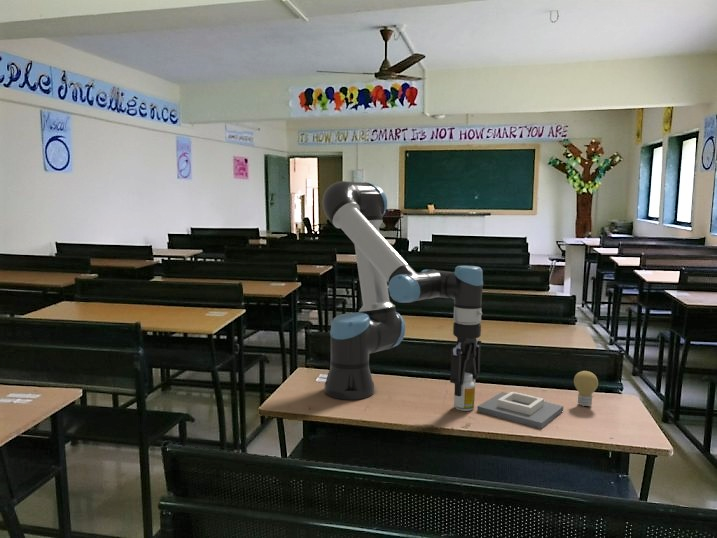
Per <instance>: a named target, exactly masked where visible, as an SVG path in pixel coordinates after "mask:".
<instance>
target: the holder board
mask: <svg viewBox="0 0 717 538" xmlns="http://www.w3.org/2000/svg"><path fill="white" fill-rule="evenodd" d="M476 408H477V409H476V411H478V413H480V414H481V413H482V414H485V415H489V416H492V417H493V416H494V417H496V418H501V419H505V420H508V421H511V422H515V423H518V424H522V425H527V426H529V427H535V428H538V429H541V430H542V429H543V428H544V427H546V426H547V425H548V424H549V423H550V422H552V421H553V420H554V419H556V418H557V417H558V416H559V415H561V414H562V413H563V412H564V405H560V404H555V403H551V402H547V401H545V398H544V397H543V398H542V397H537V396H534V395H529V394H525V393H520V392H516V391H510V392H504V391H501V392H500V393H498V394H496V395H495V396H493V397H491V398H489V399H487V400H486V401H484V402H482V403H480V404H479V405H477V407H476ZM562 411H563V412H562ZM561 412H562V413H561ZM560 413H561V414H560ZM555 417H556V418H555Z"/></svg>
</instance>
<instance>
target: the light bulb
mask: <svg viewBox="0 0 717 538" xmlns="http://www.w3.org/2000/svg"><path fill="white" fill-rule="evenodd" d="M573 383H574V387H575V389H576V390H577V392H578V395H577V396H578V397H577V405H579V404H580V405H579V406H581V405H582V406H581V407H584V406H589V407H591V406H592V405H593V395H592V394H593V393H594V392H595V391H596V390H597V389H598V386H599V379H598V378H597V376H596V374H594V373H593V372H591V371H590V370H589V371H588V370H582V371H579V372H577V373H575V375H574V378H573Z"/></svg>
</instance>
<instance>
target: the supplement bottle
mask: <svg viewBox="0 0 717 538" xmlns="http://www.w3.org/2000/svg"><path fill="white" fill-rule="evenodd" d="M472 380H473V375H472V374H471V373H467V371H465V375H464V381H463V384H465V396H464V408H461V407H457V406H454V408H455V409H456V410H458V411H463V412H469V411H472V410H474V409H475V402H474V394H475V395H476V383H475V384H474V382H472Z"/></svg>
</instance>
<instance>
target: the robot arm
mask: <svg viewBox="0 0 717 538" xmlns="http://www.w3.org/2000/svg"><path fill="white" fill-rule="evenodd" d="M387 198H388V197H387V194H386V193H385V191H384V190H383V189H382V188H381V186H379V185H378V184H374V183H370V182H366V181H365V182H359V181H358V182H357V181H345V180H341V181H340V180H339V181H336V182H334V183H332V184H330V185H329V186H328V187H327V188H326V190H325V191H324V193H323V196H322V209H323V212H324V214H325V216H326V217H327V219H328V220H329V222H330V223H331V224H332V225H333V226H334V227H335V228H336V229H341V230H342V231H343V232H344V234H345V235H346V236H347V237H348V238H349V239H350V240H351V242H352V243H353V245H354V250H355V257H356V258H355V259H356V265H357V272H358V278H359V285H360V293H361V299H362V306H361V308H360V309H359V310H358V312H357V311H356V312H347V313H341V314H339V315H337V316H335V317H334V318H332V320H331V322H330V323H331V324H330V333H329V334H330V367H329V370H328V374H327V376H326V379H325V382H324V393H325V395H327V396H328V397H330V398H332V399H333V398H334V399H338V400H348V401H350V400H355V401H356V400H362V399H363V400H364V399H366V398H367V399H368V398H370V397H371V396H373V395H374V394H375V383H374V380H373V377H372V373H371V370H370V354H374V353H377V352H381V351H387V350H390V349H393V348H395V347H397V346H398V345H400V344H401V343H402V341H403V340H404V337H405V335H406V322H405V319H404V317H402V316H401V314H400V313H399V312H397V311H396V305H395V304H393V302H391V301H390V297H391V299H392V300H393V301H395V302H397V303H403V304H405V303H413V302H416V301H417V302H418V301H422V300H429V299H436V298H444V299H450V300H451V299H452V300H453V321H454V322H453V324H452V325H453V326H452V328H453V329H452V334H453V336H454V337H456V338H457V339H456V344H455V345H456V346H455V347H450V358H451V359H450V372H449V373H450V375H449V376H450V377H449V382H450V383H452V384H454V393H453V394H454V395H453V396H454V398H453V399H454V401H453V402H454V403H453V406H454V407H455V406H457V407H461V408H464V396H465V384H463V381H464V375H465V372H466V373H471V374H472V375H473V380H472V382H474V384H475V385H476V379H477V380H479V378H480V373H481V348H482V341H481V340H478V338H480V337H481V335H482V333H481V332H482V324H481V322H482V315H483V312H482V307H483V305H482V304H483V303H482V302H483V301H482V299H483V287H484V280H483V279H484V278H483V272H484V271H483V269H482V268H481V267H480V266H475V265H457V266H456V267H455V269H454V271H444V270H436V269H423V270H421V271H420V272H416V271H415V270H414V268H412V267H411V266H410V265H409V264H408V263H407V261H406V260H405V258H403V257H402V256H401V255H400V254H399V252H398V251H397V250H396V249H395V248H394V247H393V246H392V245H391V244H390V243H389V241H388V240H387V239H386V238H385V237H384V236H383V235H382V233H380V227H381V225H382V224H383V223H384V222H383V221H384V220H383V216H384V215H385V214H386V210H388V199H387ZM475 395H476V393H475V394H474V403H475V399H476V396H475Z"/></svg>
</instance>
